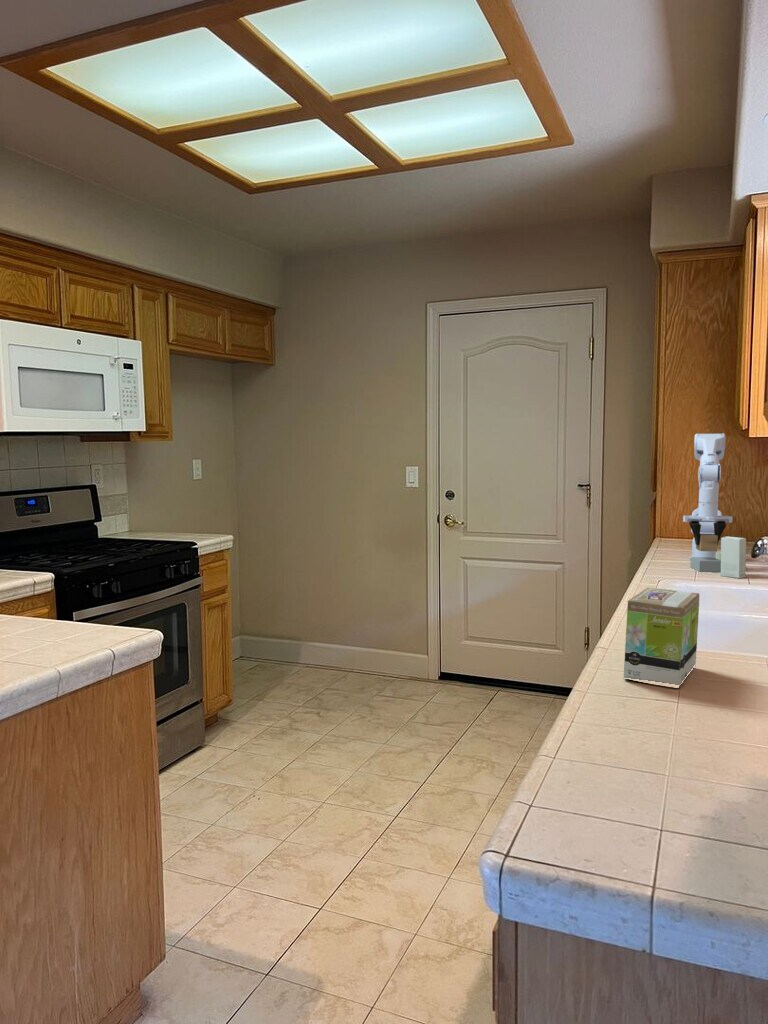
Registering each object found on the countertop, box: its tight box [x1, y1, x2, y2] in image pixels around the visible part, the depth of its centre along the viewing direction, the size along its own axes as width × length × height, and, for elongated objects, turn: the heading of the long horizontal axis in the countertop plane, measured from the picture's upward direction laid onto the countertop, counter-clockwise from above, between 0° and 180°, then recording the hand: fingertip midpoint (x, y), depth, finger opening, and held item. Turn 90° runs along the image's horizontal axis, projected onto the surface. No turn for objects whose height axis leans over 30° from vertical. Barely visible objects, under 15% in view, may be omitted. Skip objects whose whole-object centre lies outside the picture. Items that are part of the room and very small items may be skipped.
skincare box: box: [720, 535, 747, 579], centre depth 231 cm, size 6×4×12 cm
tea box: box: [623, 587, 700, 685], centre depth 138 cm, size 15×10×15 cm, turn 148°
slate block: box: [689, 556, 721, 573], centre depth 242 cm, size 7×7×4 cm
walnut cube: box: [696, 533, 719, 552], centre depth 241 cm, size 5×5×5 cm
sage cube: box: [716, 551, 721, 560], centre depth 246 cm, size 5×5×5 cm
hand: (706, 544), depth 242 cm, fingers closed on walnut cube, 5 cm apart
